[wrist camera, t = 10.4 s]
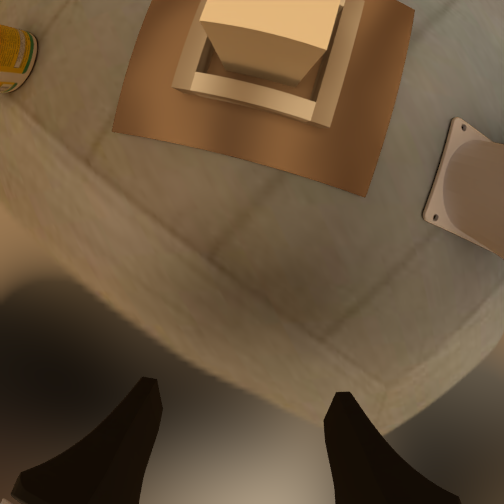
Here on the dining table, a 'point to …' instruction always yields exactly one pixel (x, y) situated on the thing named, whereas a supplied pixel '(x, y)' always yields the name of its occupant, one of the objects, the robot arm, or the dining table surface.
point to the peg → (270, 35)
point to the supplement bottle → (15, 57)
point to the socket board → (271, 94)
